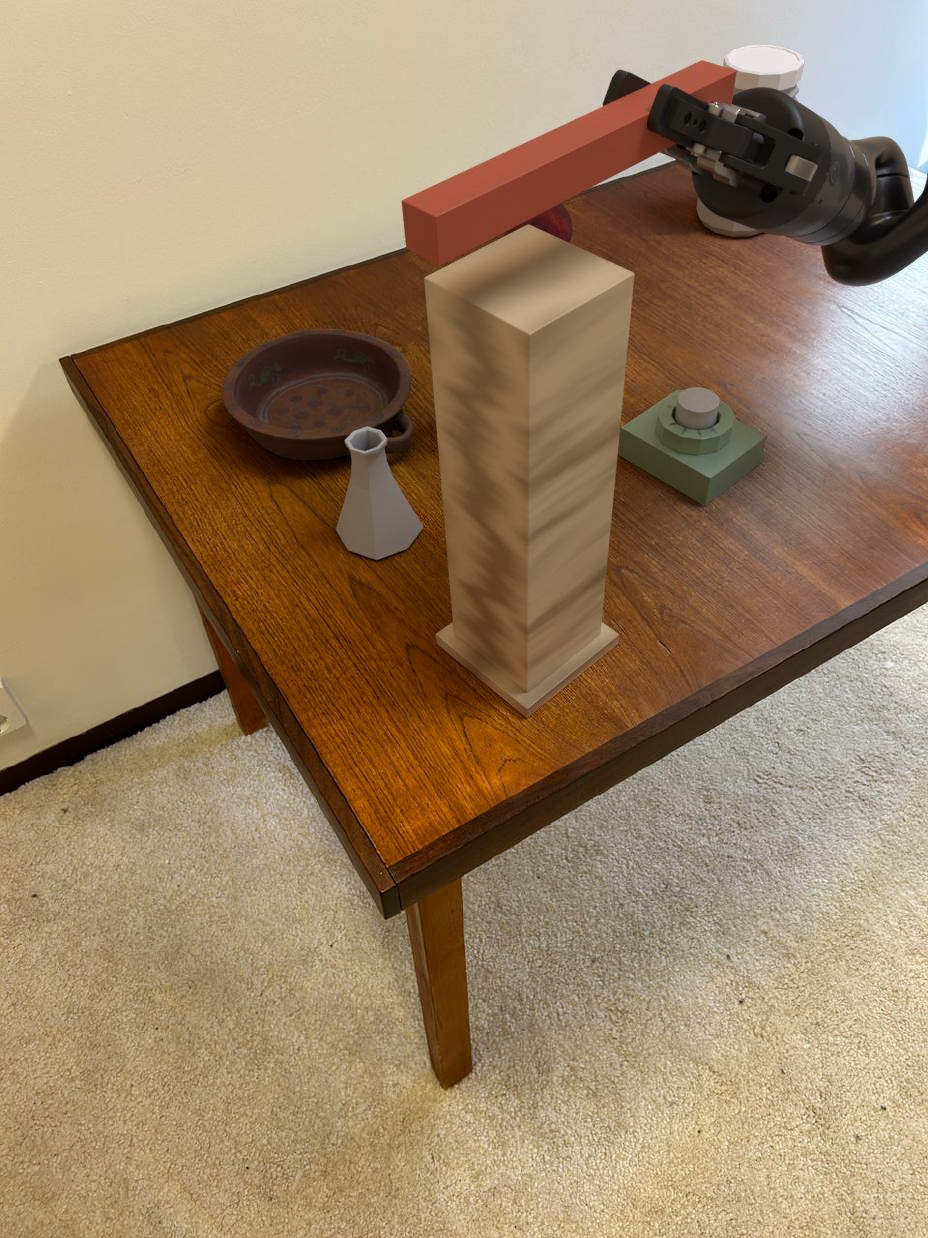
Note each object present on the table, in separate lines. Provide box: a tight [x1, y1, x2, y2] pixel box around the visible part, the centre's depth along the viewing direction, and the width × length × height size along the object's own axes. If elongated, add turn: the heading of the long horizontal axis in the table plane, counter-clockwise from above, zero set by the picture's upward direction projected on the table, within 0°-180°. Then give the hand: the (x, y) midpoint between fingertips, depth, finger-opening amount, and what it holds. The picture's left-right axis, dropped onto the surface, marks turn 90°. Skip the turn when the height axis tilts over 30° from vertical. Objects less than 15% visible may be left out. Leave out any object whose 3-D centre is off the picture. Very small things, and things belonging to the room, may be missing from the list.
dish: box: [221, 328, 415, 461], centre depth 93 cm, size 18×22×5 cm
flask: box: [335, 426, 424, 561], centre depth 80 cm, size 7×7×10 cm
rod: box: [401, 59, 737, 266], centre depth 49 cm, size 2×22×2 cm, turn 133°
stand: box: [423, 225, 636, 719], centre depth 63 cm, size 10×10×31 cm
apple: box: [503, 202, 573, 244], centre depth 110 cm, size 7×8×8 cm
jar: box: [696, 44, 805, 238], centre depth 110 cm, size 10×10×18 cm
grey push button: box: [675, 386, 721, 430], centre depth 84 cm, size 4×4×2 cm
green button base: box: [617, 389, 768, 507], centre depth 86 cm, size 10×8×5 cm
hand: (635, 98), depth 50 cm, fingers closed on rod, 2 cm apart
